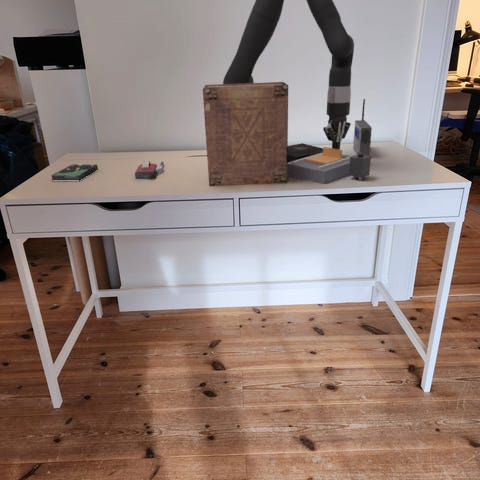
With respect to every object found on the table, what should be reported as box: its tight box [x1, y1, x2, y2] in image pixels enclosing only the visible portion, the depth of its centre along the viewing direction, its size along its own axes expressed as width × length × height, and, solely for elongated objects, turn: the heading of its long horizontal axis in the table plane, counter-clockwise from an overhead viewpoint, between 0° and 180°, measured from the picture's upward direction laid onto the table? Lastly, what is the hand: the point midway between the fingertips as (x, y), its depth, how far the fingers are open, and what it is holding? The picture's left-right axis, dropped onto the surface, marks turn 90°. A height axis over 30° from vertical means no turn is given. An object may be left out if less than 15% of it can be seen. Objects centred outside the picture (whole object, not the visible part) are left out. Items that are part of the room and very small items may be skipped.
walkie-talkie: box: [134, 160, 164, 180], centre depth 158 cm, size 9×4×20 cm
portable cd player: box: [287, 143, 324, 163], centre depth 168 cm, size 16×17×4 cm
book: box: [202, 81, 289, 187], centre depth 139 cm, size 25×9×30 cm, turn 91°
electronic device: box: [352, 98, 373, 156], centre depth 169 cm, size 17×7×20 cm, turn 174°
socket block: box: [287, 152, 356, 185], centre depth 150 cm, size 16×22×5 cm
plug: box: [348, 152, 372, 181], centre depth 141 cm, size 5×5×8 cm
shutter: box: [305, 146, 343, 165], centre depth 148 cm, size 9×10×3 cm
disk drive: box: [51, 164, 99, 181], centre depth 158 cm, size 10×3×15 cm
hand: (335, 152), depth 152 cm, fingers closed
